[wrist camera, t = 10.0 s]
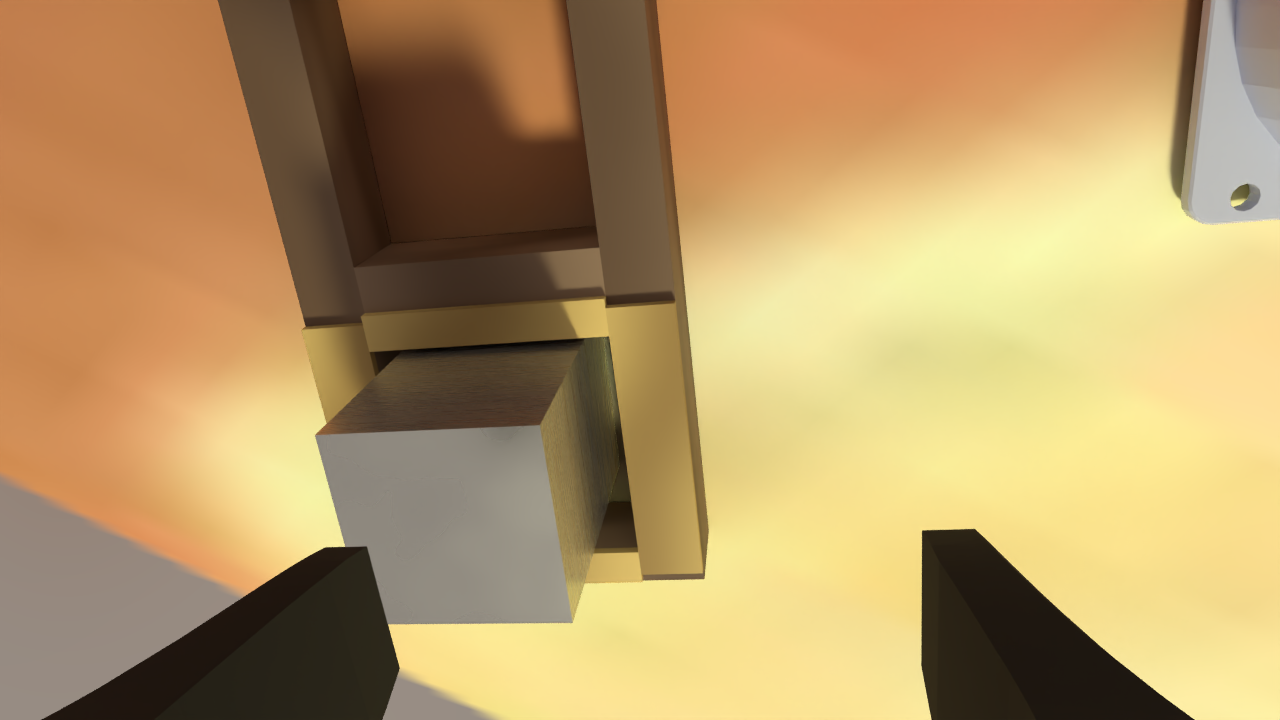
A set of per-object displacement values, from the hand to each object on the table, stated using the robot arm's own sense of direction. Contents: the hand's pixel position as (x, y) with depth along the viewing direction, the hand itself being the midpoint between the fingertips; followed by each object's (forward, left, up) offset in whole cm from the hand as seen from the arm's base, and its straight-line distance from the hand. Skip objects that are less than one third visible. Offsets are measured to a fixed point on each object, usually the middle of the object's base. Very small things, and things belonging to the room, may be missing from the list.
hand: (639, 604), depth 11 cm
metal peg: (+4, +1, -10) cm, 10 cm away
